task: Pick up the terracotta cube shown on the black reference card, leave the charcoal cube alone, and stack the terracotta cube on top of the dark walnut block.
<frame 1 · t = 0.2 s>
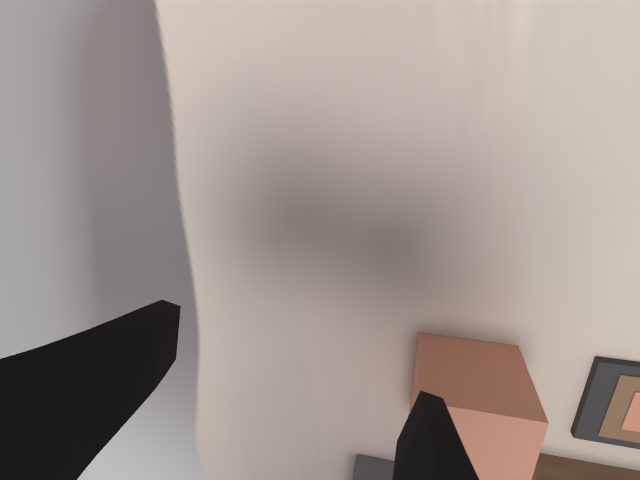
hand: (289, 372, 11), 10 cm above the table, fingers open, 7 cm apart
terracotta cube: (460, 375, 21), on the table
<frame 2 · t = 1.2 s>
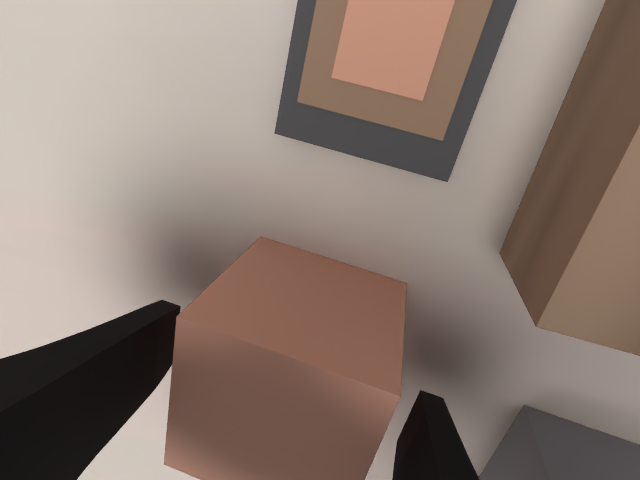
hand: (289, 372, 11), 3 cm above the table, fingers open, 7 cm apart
charcoal cube: (563, 478, 13), on the table
terracotta cube: (315, 319, 13), on the table
reference card: (391, 39, 10), on the table
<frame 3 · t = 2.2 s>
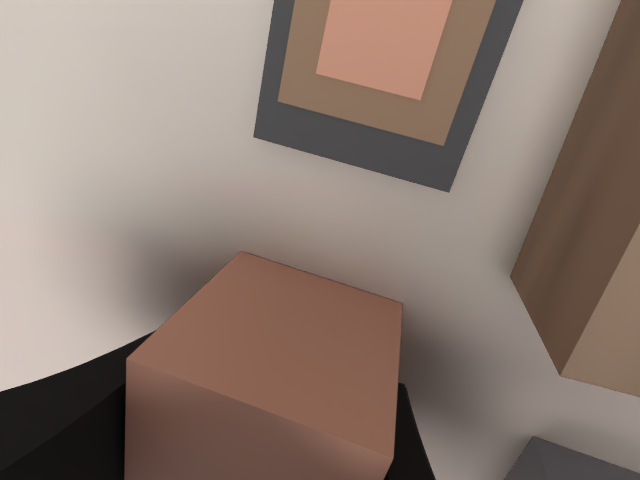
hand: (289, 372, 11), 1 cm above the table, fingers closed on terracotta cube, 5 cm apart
terracotta cube: (302, 342, 12), on the table, touching gripper
reference card: (385, 30, 8), on the table
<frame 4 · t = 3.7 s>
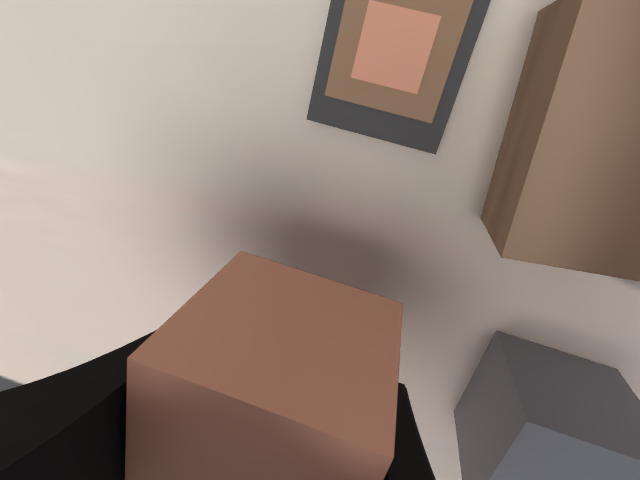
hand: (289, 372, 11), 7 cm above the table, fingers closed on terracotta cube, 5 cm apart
charcoal cube: (528, 390, 17), on the table
terracotta cube: (302, 342, 12), point 5 cm above the table, touching gripper
walnut block: (612, 137, 13), on the table
reference card: (394, 49, 13), on the table
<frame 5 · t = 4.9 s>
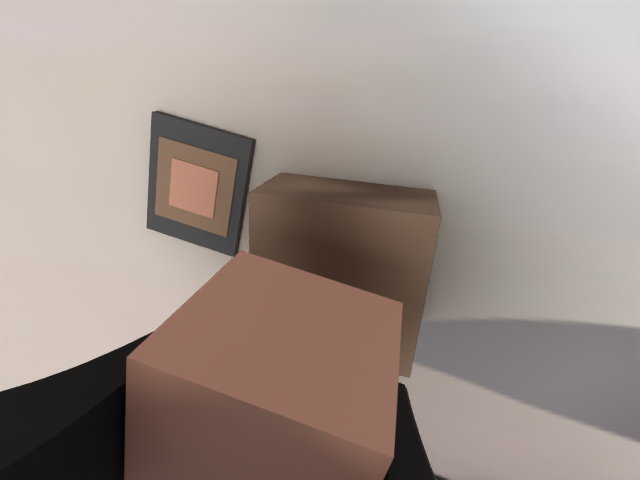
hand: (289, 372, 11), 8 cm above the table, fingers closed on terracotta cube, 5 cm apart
terracotta cube: (302, 341, 12), point 7 cm above the table, touching gripper
walnut block: (348, 250, 19), on the table
reference card: (199, 186, 19), on the table
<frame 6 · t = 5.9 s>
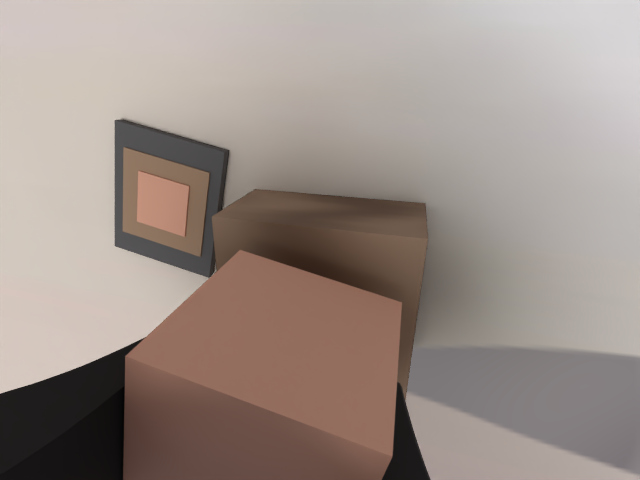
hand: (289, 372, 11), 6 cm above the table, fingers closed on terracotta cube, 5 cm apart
terracotta cube: (301, 341, 12), point 5 cm above the table, touching gripper
walnut block: (334, 270, 17), on the table
reference card: (169, 200, 17), on the table
when the fingers open (6 cm above the table, at t = 6.3 s): terracotta cube drops 1 cm, point 4 cm above the table.
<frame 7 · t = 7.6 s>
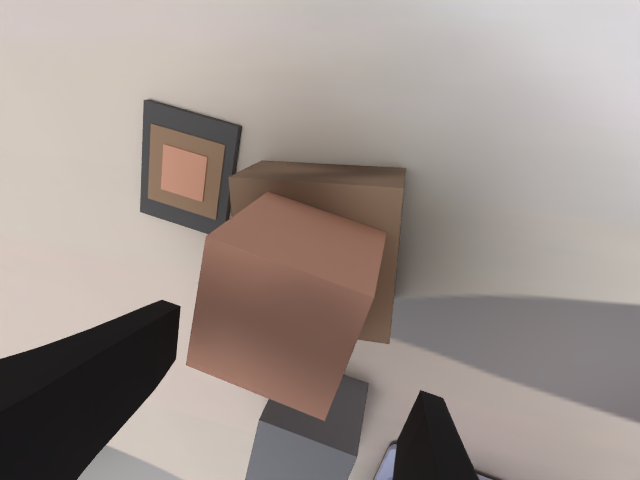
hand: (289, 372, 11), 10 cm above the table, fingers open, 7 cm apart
charcoal cube: (319, 397, 24), on the table
terracotta cube: (310, 264, 16), point 4 cm above the table
walnut block: (330, 230, 20), on the table
reference card: (189, 171, 20), on the table
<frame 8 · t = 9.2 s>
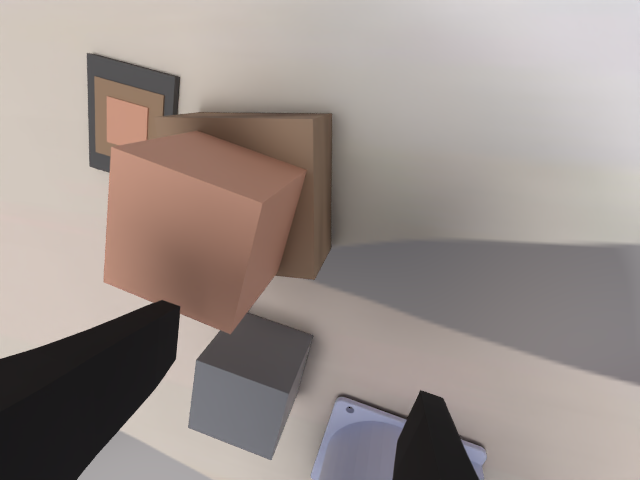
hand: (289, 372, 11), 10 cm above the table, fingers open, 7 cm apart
charcoal cube: (268, 352, 24), on the table
terracotta cube: (239, 204, 17), point 4 cm above the table, touching walnut block
walnut block: (268, 181, 20), on the table, touching terracotta cube
reference card: (134, 124, 21), on the table
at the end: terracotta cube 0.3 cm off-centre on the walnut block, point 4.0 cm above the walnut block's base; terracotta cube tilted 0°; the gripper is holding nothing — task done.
